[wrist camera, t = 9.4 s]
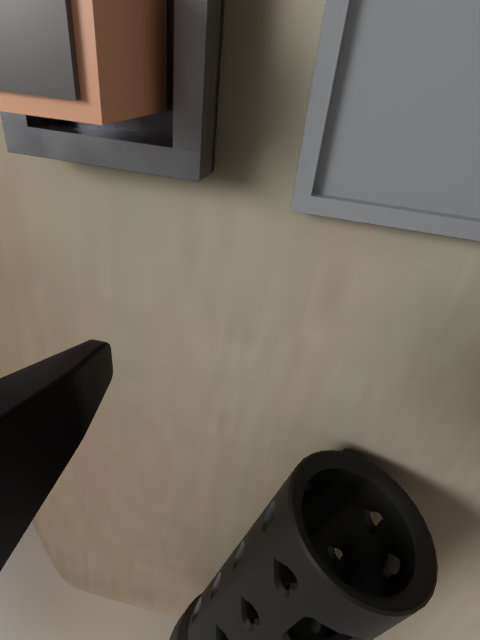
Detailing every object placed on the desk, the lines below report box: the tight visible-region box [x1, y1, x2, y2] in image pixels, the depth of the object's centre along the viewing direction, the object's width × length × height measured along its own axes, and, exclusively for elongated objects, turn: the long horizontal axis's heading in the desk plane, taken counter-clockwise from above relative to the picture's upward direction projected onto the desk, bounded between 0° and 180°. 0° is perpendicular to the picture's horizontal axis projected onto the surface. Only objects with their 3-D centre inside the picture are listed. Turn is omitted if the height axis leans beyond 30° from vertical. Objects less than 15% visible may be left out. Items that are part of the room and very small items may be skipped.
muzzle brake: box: [170, 448, 438, 640], centre depth 30 cm, size 10×28×10 cm, turn 160°
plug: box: [0, 0, 167, 125], centre depth 14 cm, size 4×4×6 cm
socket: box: [0, 0, 224, 182], centre depth 16 cm, size 9×9×2 cm
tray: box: [290, 0, 480, 241], centre depth 15 cm, size 11×11×1 cm
